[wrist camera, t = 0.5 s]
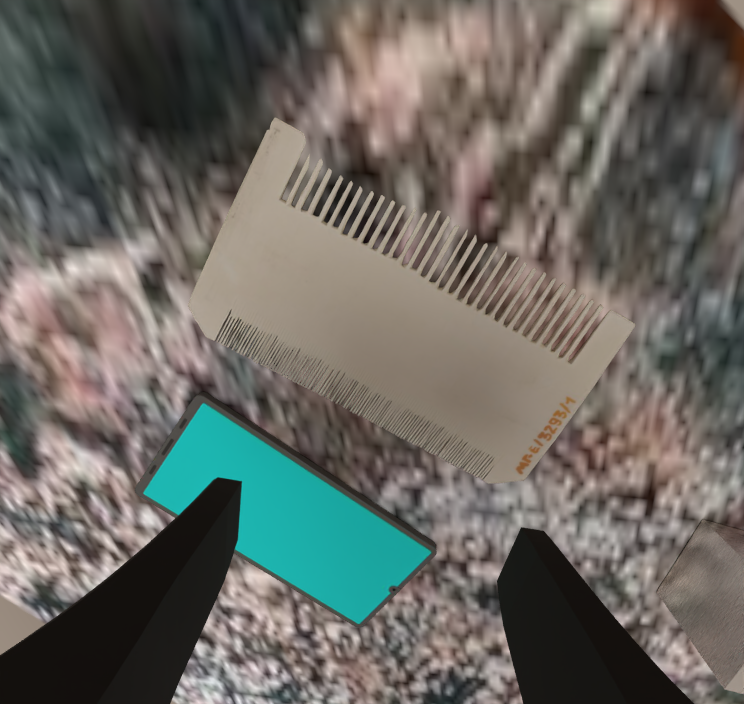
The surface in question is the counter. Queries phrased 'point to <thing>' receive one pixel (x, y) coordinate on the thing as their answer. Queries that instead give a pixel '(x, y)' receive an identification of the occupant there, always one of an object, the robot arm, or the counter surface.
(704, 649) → the brushed metal cube
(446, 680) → the counter surface
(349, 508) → the smartphone
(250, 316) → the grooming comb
